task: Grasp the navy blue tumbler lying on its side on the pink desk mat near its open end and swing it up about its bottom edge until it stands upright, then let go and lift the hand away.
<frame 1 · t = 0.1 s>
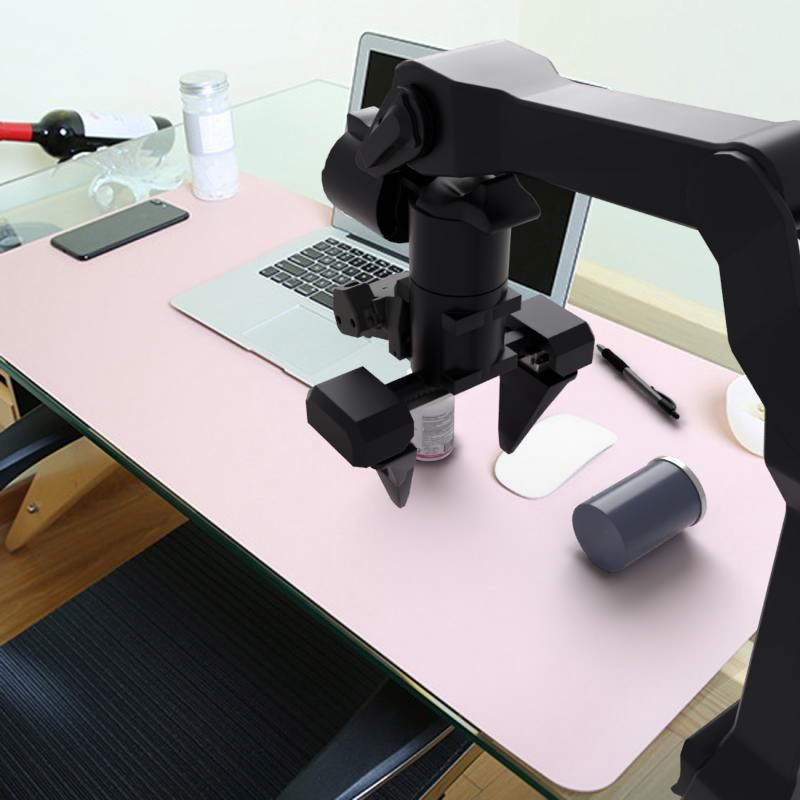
hand: (453, 476, 64), 14 cm above the table, tool pointing down, fingers open, 9 cm apart
pen: (636, 385, 97), on the table
pill bottle: (428, 448, 90), on the table
navy blue tumbler: (638, 513, 77), point 3 cm above the table, hinge at 88.0°
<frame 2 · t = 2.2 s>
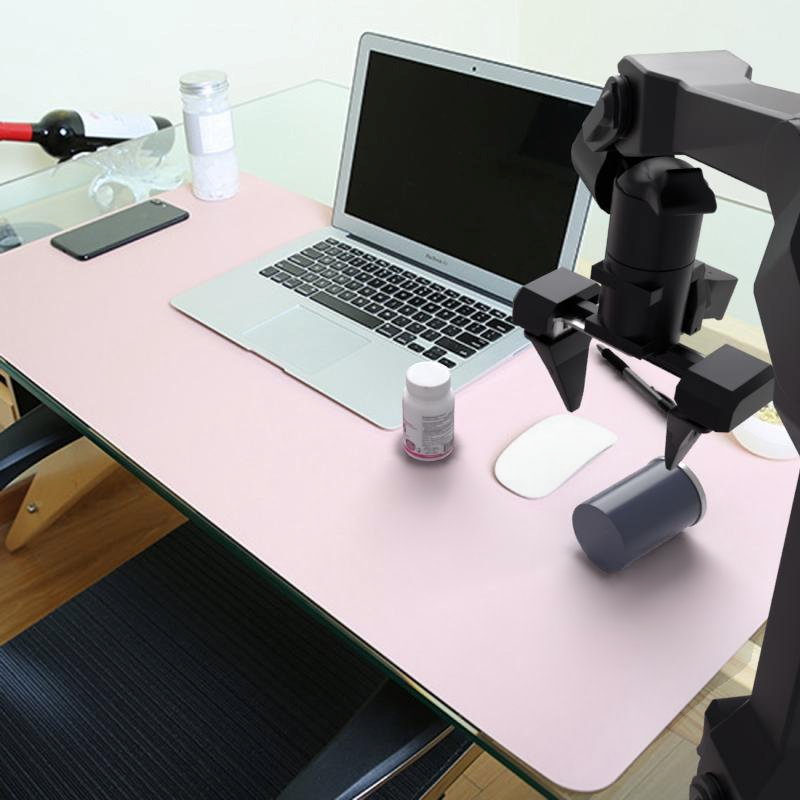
hand: (620, 437, 71), 12 cm above the table, tool pointing down, fingers open, 9 cm apart
nothing on the table moved.
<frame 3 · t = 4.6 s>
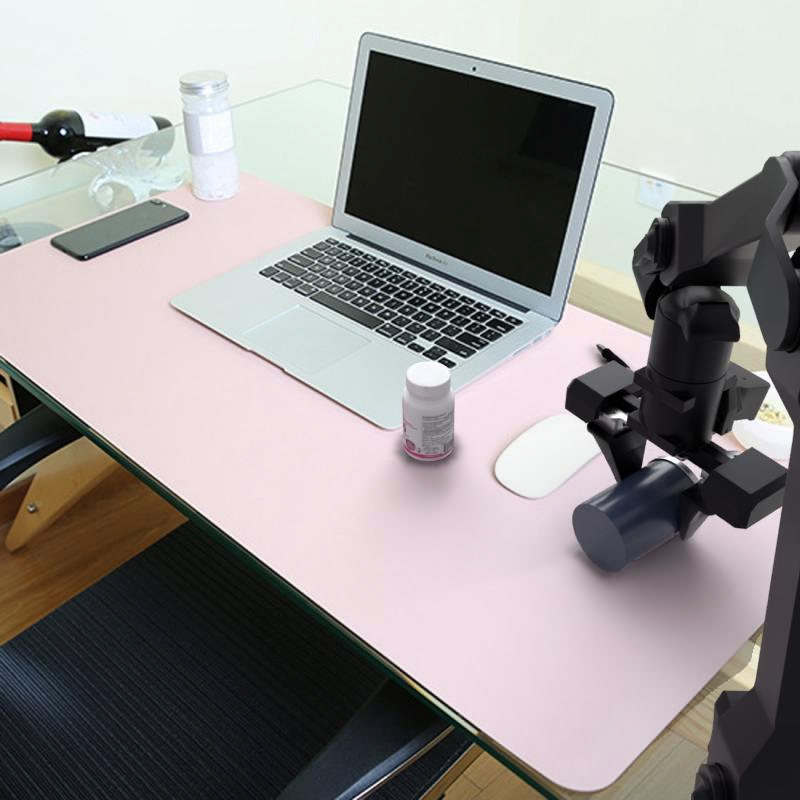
hand: (656, 516, 79), 1 cm above the table, tool pointing down, fingers closed on navy blue tumbler, 6 cm apart
navy blue tumbler: (638, 513, 77), point 3 cm above the table, hinge at 88.0°, touching gripper
everything else where it was.
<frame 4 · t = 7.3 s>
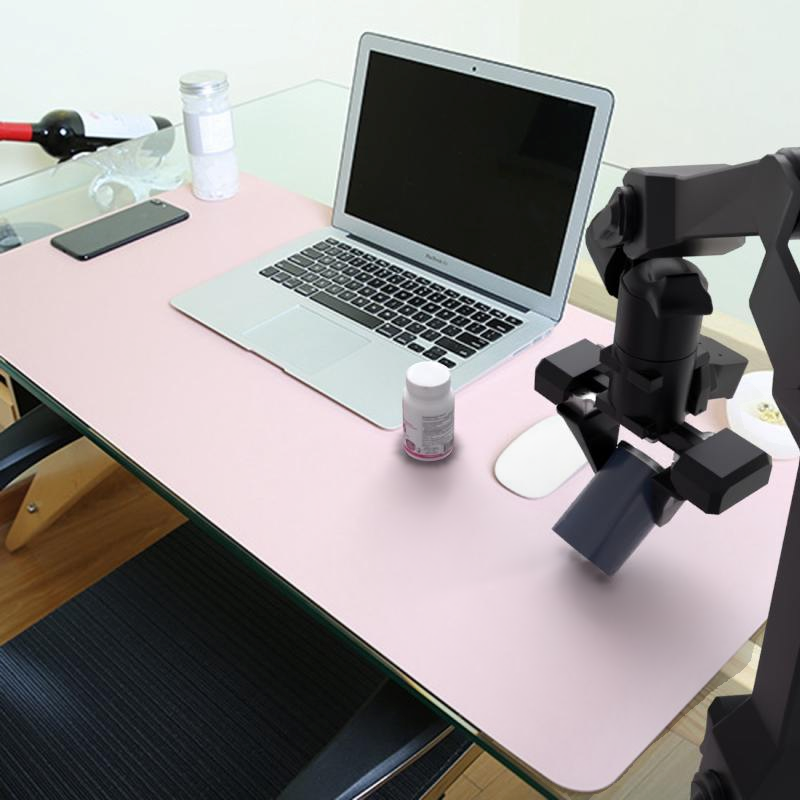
hand: (633, 501, 76), 5 cm above the table, tool pointing down, fingers closed on navy blue tumbler, 6 cm apart
navy blue tumbler: (617, 508, 75), point 5 cm above the table, hinge at 51.5°, touching gripper
everything else where it was.
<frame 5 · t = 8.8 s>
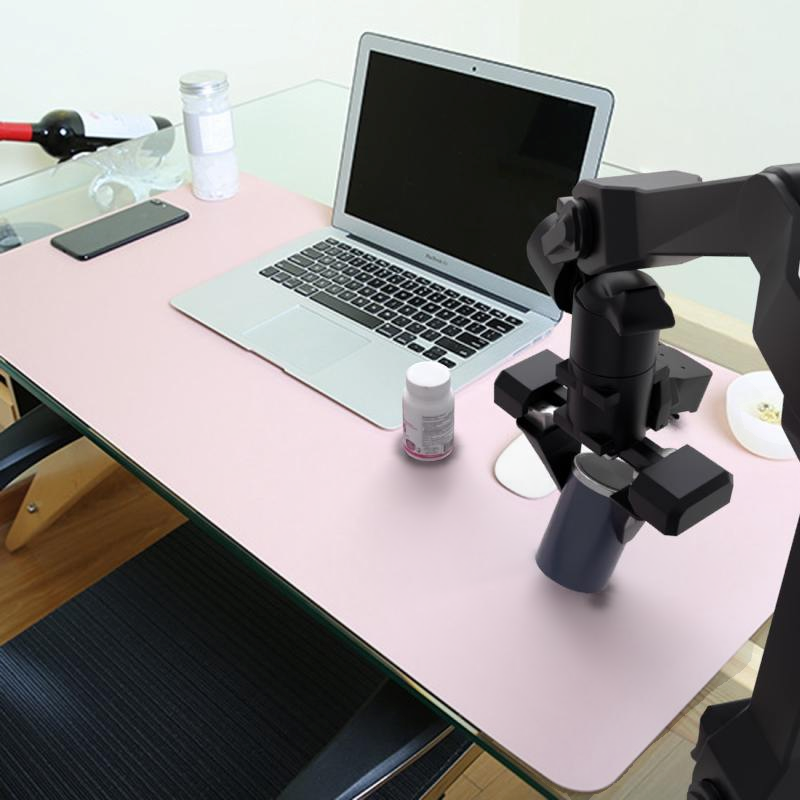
hand: (596, 516, 73), 6 cm above the table, tool pointing down, fingers closed on navy blue tumbler, 6 cm apart
navy blue tumbler: (591, 522, 74), point 5 cm above the table, hinge at 21.2°, touching gripper
everything else where it was.
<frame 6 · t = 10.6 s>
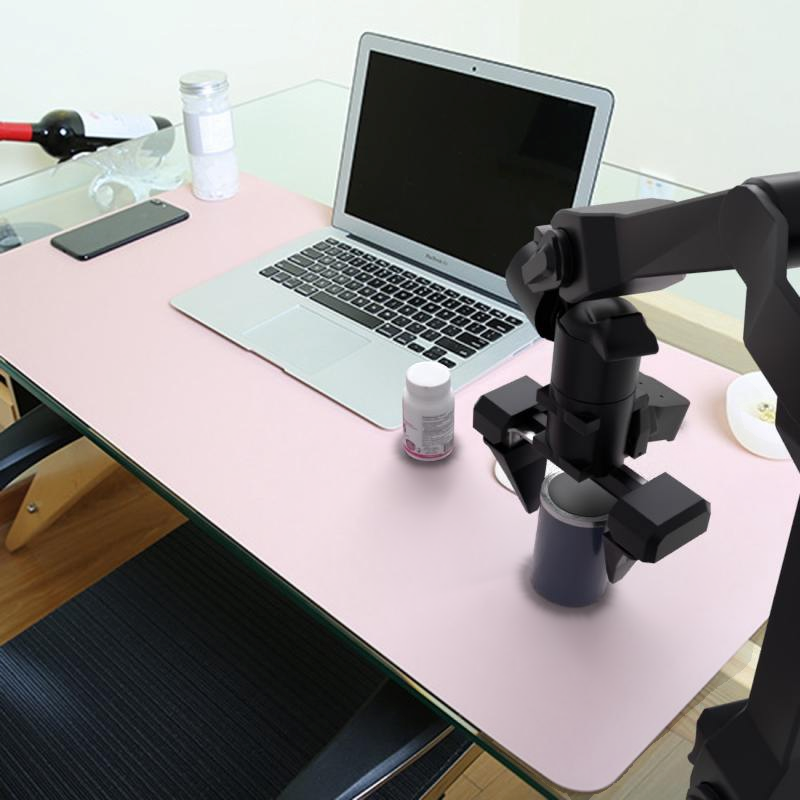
hand: (572, 544, 73), 4 cm above the table, tool pointing down, fingers open, 9 cm apart
navy blue tumbler: (575, 537, 73), point 5 cm above the table, hinge at 2.6°
everything else where it was.
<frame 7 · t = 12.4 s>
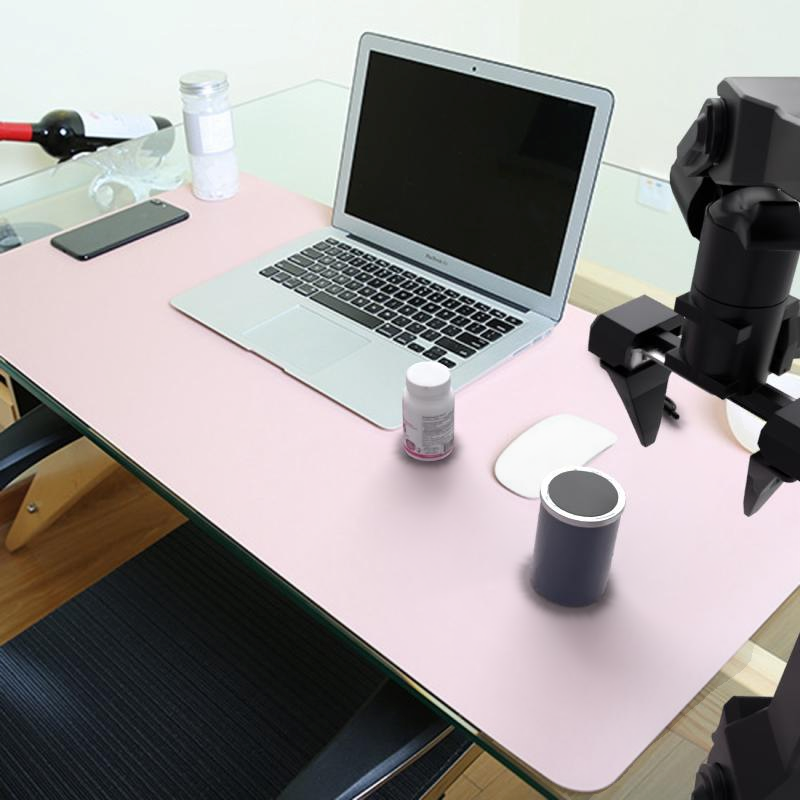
hand: (697, 477, 68), 12 cm above the table, tool pointing down, fingers open, 9 cm apart
nothing on the table moved.
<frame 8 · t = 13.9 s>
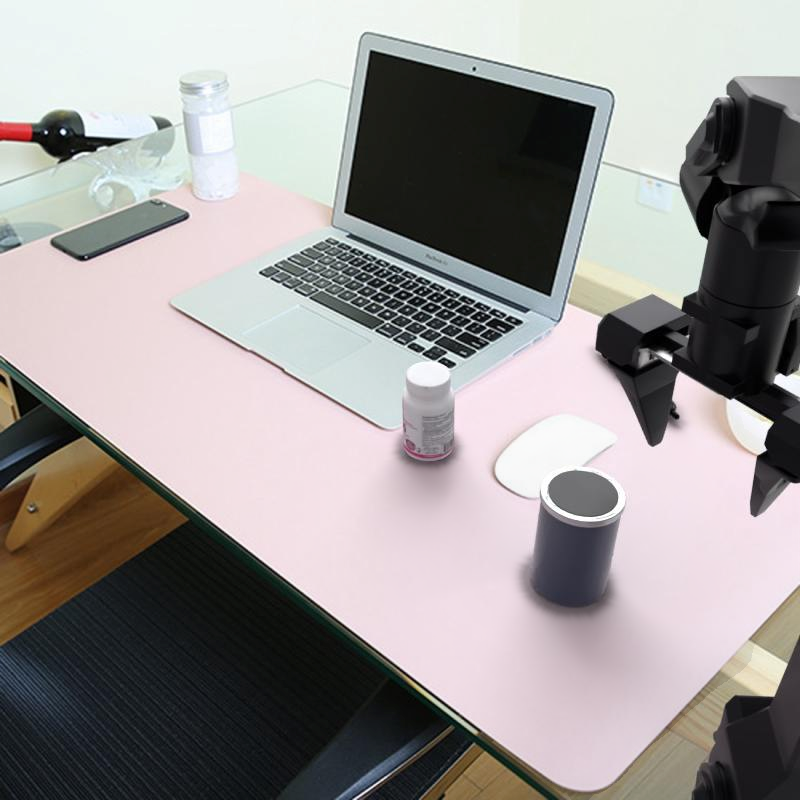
hand: (703, 477, 67), 12 cm above the table, tool pointing down, fingers open, 9 cm apart
nothing on the table moved.
at the end: navy blue tumbler at +3° (first picture: +88°); the gripper is holding nothing; pen moved 0.0 cm from its start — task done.
